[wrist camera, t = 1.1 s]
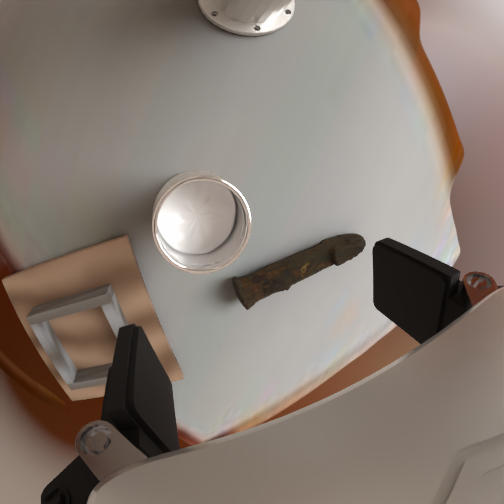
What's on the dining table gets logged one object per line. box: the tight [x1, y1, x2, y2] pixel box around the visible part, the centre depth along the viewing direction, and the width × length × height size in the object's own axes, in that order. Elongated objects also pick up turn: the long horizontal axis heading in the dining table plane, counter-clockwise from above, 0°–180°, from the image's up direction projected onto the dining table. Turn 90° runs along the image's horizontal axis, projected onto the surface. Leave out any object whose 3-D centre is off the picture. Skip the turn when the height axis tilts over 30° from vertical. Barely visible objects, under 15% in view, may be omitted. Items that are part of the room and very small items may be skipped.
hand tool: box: [232, 234, 366, 310], centre depth 36 cm, size 19×4×5 cm, turn 106°
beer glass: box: [152, 171, 251, 274], centre depth 25 cm, size 7×7×15 cm
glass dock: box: [2, 234, 184, 401], centre depth 31 cm, size 22×20×4 cm
